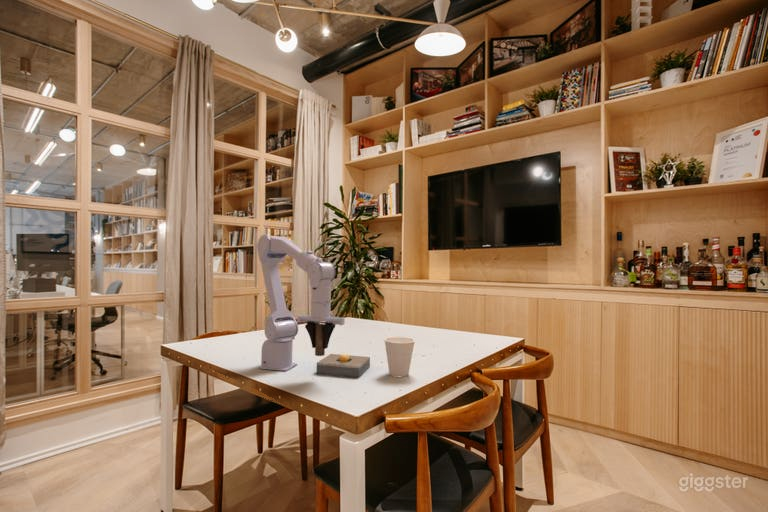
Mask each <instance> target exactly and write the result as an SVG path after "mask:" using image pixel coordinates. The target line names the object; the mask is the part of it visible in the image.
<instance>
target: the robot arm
mask: <svg viewBox="0 0 768 512" xmlns="http://www.w3.org/2000/svg"><path fill="white" fill-rule="evenodd" d="M256 248H257V255H258V259H259V262H260V265H261V271H262V275H263V280H264V285H265V290H266V294H267V301H268V306H269V311H270V313H269V314H268V315H267V316H266V317H265V318H264V335H265V337H266V339H265V340H264V341H263V343H262V346H261V356H260V357H261V358H260V359H261V361H260V367H259V369H262V370H270V371H280V372H287V371H288V370H290V369H292V368H294V367H296V366H297V365H298V363H297V362H293V346H294V345H293V340H295V339H296V336H297V335H298V333H299V325H298V323H299V324H300V323H305V325H304V327H305V330H306V331H307V334H308V335H309V338H310V343H311V347H312V349H315V337H316V324H325V325H322V332H323V349H325V350H326V349H328V347H329V343H330V339H331V337H332V334H333V331H334V329H335V328H336V325H339V326H344V325H345V319H346V318H345V317H339V316H331V308H332V307H331V305H332V304H331V302H332V301H331V300H332V298H331V296H332V280H334V278H335V276H336V268H335V265H334V264H333V263H332V262H331V261H323V259H322V258H321V257H317V256H316V255H315V254H314V252H313V251H312V250H304V251H303V250H302V249H300V247H299V246H297V245H296V244H295V243H294V242H293V239H291V238H289V237H288V236H279V235H267V234H262V235H261V236H260V237H259V239H258V241H257V244H256ZM287 256H289V257H291V258H292V259H294V260H295V263H296V266H298V267H299V268H300V269H301V270H303V271H304V272H305V273H306V274H307V277H308V279H309V285H310V287H311V302H310V304H311V306H310V307H311V308H310V315H304V314H303V315H301V314H300V315H299V314H298V315H297V316H296V318H297V319H296V318H295V314H294V313H293V312H291V311H290V310H289V309H288V308H287V304H286V298H285V294H284V290H283V289H284V288H283V285H282V279H281V275H280V270H279V264H280V263H282V262H283V261H284V259H286V257H287Z"/></svg>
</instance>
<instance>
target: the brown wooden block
mask: <svg viewBox="0 0 768 512" xmlns="http://www.w3.org/2000/svg"><path fill="white" fill-rule="evenodd" d="M322 325H325V324H321V323H319V324H316V337H315V348H314V349H315V350H314V355H315V356H316V357H324V356H325V355H326V354H325V353H326V352H325V350H326V349H323V332H322Z"/></svg>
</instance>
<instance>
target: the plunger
mask: <svg viewBox="0 0 768 512" xmlns="http://www.w3.org/2000/svg"><path fill="white" fill-rule="evenodd" d="M339 355H340V356H339V361H341V362H349V355H348V354H339Z"/></svg>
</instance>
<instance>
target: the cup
mask: <svg viewBox="0 0 768 512" xmlns="http://www.w3.org/2000/svg"><path fill="white" fill-rule="evenodd" d="M383 341H384V345H385V352H386V359H387V360H386V361H387V365H388V366H387V367H388V373H389V375H390V376H392V377H394V376H405V377H407V376H408V375H409V373H410V368H411V367H410V366H411V362H412V356H413V352H414V346H415V343H416V339H414V338H412V337H409V336H388V337H385V338H384V339H383ZM406 375H407V376H406Z"/></svg>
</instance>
